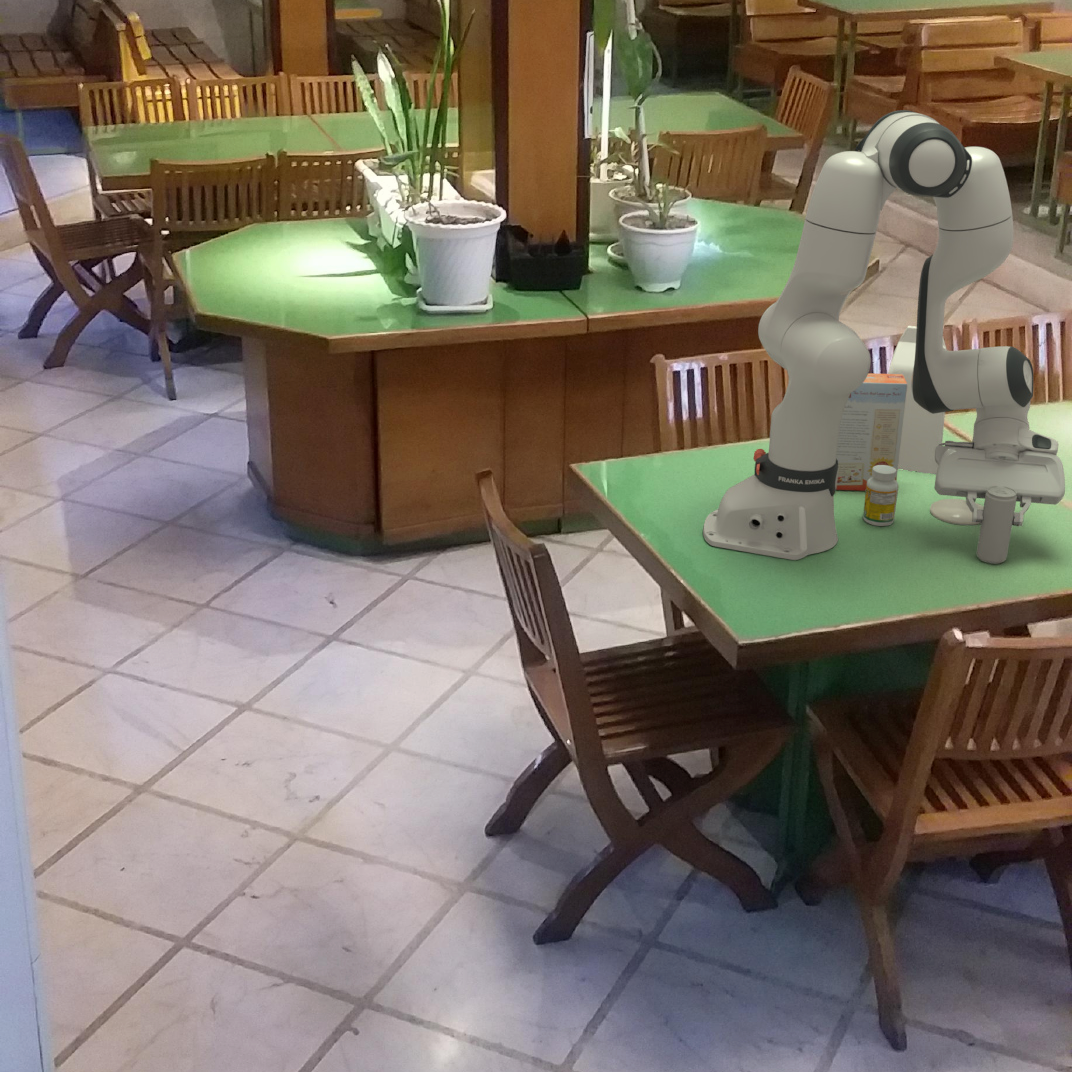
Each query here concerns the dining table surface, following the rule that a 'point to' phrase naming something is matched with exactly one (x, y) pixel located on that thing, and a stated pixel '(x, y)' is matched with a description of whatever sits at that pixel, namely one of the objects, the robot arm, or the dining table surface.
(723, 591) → the dining table surface
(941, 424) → the milk
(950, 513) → the white domed disc
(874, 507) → the supplement bottle
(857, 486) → the cracker box
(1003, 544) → the beverage can
